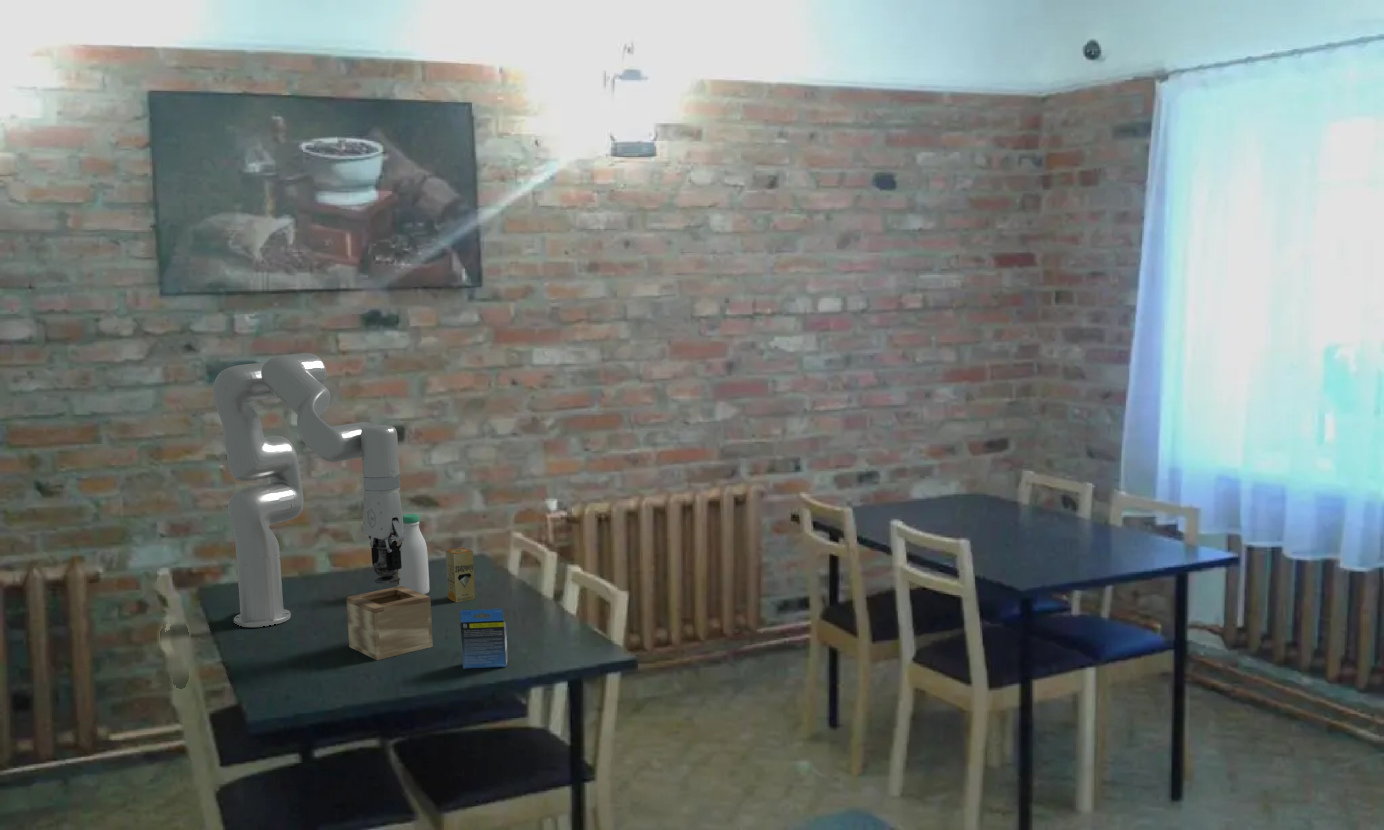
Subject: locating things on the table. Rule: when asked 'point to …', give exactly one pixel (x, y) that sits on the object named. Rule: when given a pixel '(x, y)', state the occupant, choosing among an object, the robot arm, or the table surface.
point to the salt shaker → (384, 565)
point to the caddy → (389, 622)
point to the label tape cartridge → (483, 639)
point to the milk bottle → (413, 557)
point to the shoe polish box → (460, 575)
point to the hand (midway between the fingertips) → (386, 566)
